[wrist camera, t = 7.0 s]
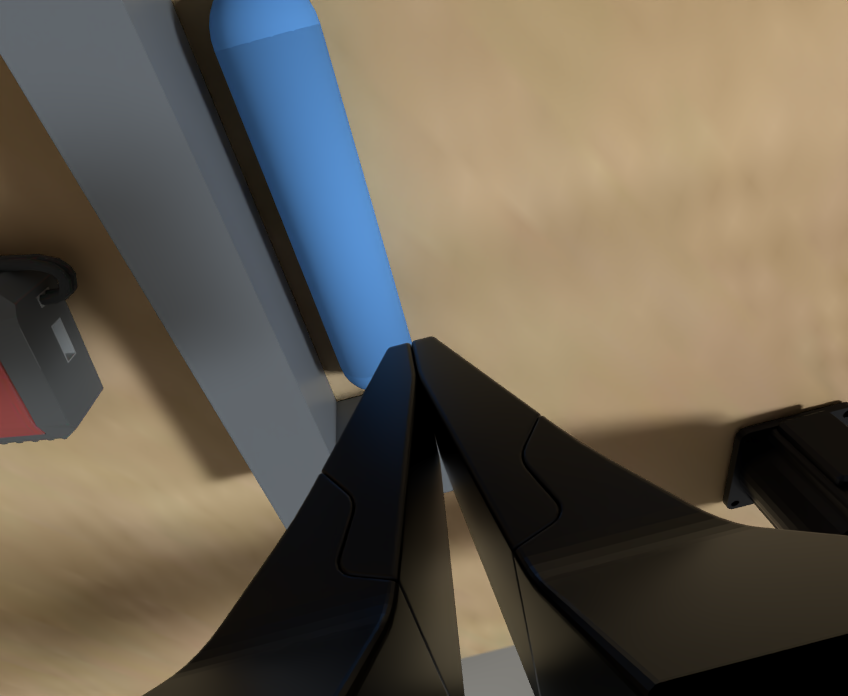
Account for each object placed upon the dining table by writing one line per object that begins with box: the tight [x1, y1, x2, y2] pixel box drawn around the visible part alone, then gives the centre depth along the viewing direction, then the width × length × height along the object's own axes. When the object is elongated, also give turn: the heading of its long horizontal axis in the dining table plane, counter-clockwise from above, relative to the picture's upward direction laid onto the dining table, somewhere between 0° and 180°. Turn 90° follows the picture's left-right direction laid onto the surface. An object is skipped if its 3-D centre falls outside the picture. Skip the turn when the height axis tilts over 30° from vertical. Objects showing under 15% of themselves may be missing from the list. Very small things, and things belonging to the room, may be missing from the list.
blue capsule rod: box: [209, 0, 412, 390], centre depth 17 cm, size 14×3×3 cm, turn 13°
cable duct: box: [0, 0, 453, 530], centre depth 16 cm, size 22×9×4 cm, turn 12°
